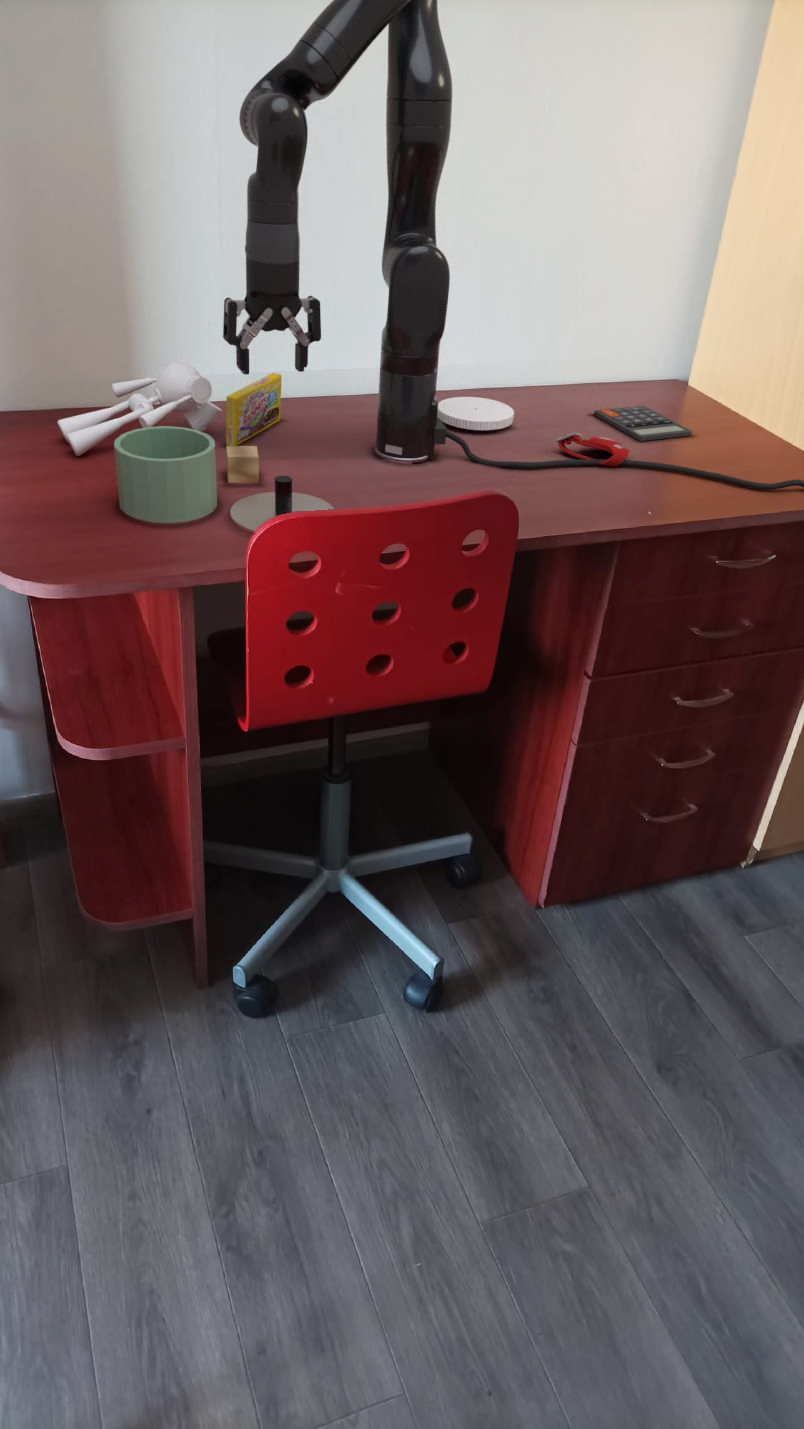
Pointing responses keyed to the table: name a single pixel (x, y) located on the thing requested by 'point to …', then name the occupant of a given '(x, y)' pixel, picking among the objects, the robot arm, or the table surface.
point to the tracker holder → (597, 443)
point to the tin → (166, 474)
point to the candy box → (253, 409)
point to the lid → (273, 505)
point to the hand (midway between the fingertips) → (272, 371)
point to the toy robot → (146, 406)
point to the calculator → (642, 423)
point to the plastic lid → (475, 413)
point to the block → (242, 464)
